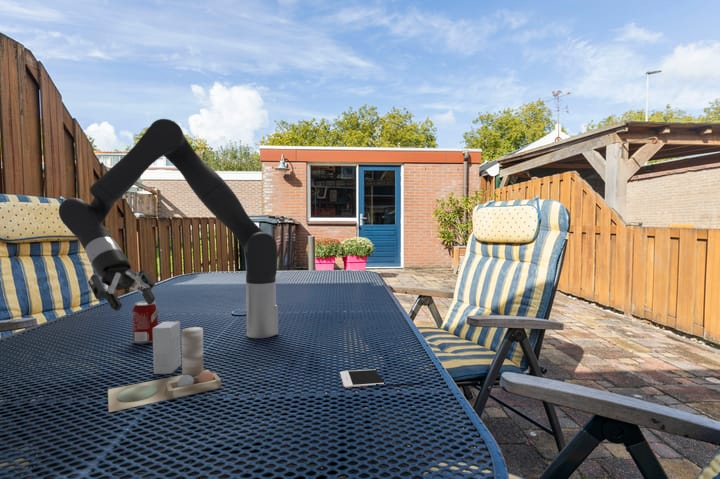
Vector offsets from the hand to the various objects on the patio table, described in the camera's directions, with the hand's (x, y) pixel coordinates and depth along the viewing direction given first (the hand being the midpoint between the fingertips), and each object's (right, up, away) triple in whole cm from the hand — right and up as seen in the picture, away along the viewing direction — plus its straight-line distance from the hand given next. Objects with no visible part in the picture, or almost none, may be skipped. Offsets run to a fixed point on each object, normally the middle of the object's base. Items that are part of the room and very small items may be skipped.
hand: (136, 305), depth 98 cm
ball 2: (+23, -15, -15) cm, 31 cm away
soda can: (-9, -15, +21) cm, 27 cm away
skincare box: (+10, -16, -5) cm, 19 cm away
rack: (+15, -16, -16) cm, 27 cm away
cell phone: (+61, -16, -7) cm, 63 cm away
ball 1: (+20, -15, -17) cm, 30 cm away
